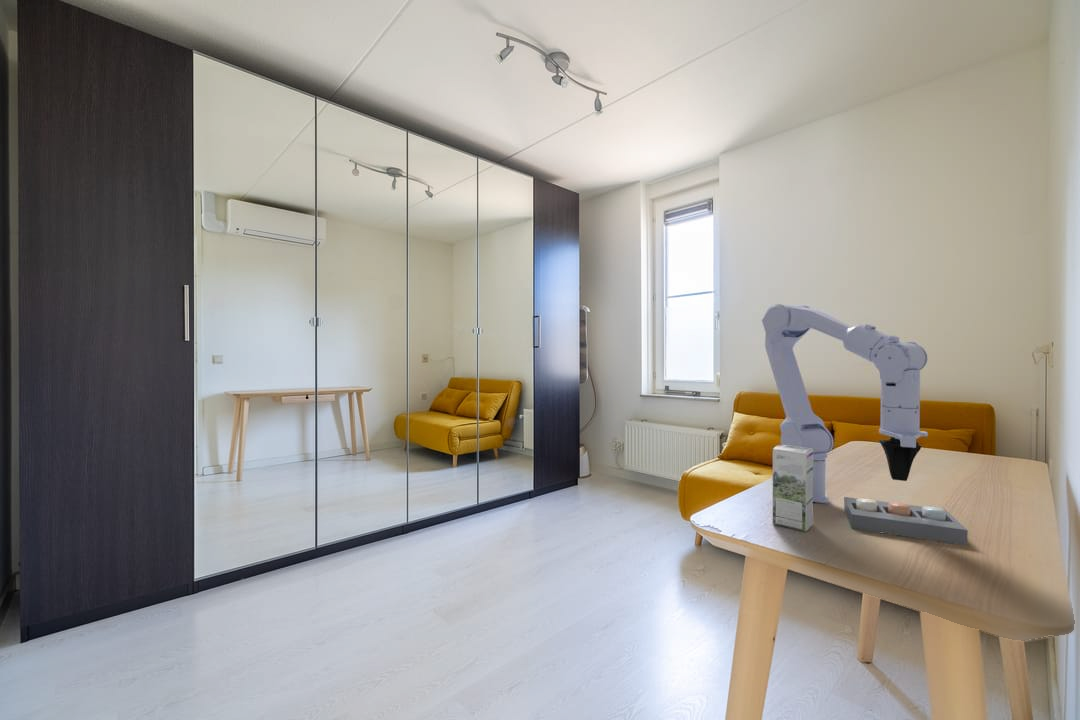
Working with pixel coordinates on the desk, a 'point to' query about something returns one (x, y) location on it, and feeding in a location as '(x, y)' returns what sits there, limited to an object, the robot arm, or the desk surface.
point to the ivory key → (866, 504)
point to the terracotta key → (898, 508)
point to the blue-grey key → (933, 513)
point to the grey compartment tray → (905, 523)
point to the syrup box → (793, 487)
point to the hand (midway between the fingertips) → (899, 479)
